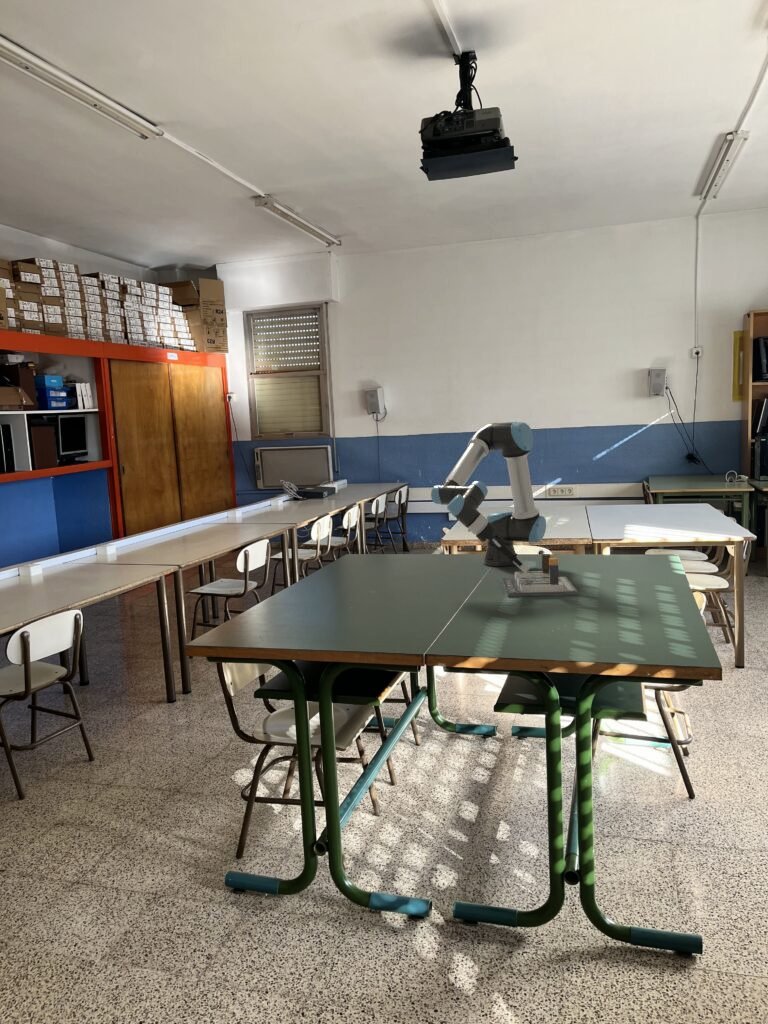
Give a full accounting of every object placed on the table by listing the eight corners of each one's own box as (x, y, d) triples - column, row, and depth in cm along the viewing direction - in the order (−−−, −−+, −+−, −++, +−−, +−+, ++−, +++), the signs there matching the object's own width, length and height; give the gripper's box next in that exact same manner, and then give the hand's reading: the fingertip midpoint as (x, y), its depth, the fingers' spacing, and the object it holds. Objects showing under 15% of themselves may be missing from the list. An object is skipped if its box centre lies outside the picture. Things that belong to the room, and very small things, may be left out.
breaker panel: (502, 582, 298) (501, 554, 297) (565, 580, 296) (565, 553, 295) (507, 596, 274) (507, 567, 272) (577, 595, 272) (577, 565, 270)
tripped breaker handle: (549, 576, 285) (548, 558, 285) (557, 576, 285) (556, 557, 284) (550, 577, 283) (549, 559, 282) (558, 577, 283) (557, 559, 282)
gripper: (473, 532, 290) (518, 573, 291) (476, 538, 278) (522, 581, 279) (487, 518, 290) (531, 560, 290) (490, 523, 277) (536, 566, 278)
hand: (527, 570), depth 284 cm, fingers closed
